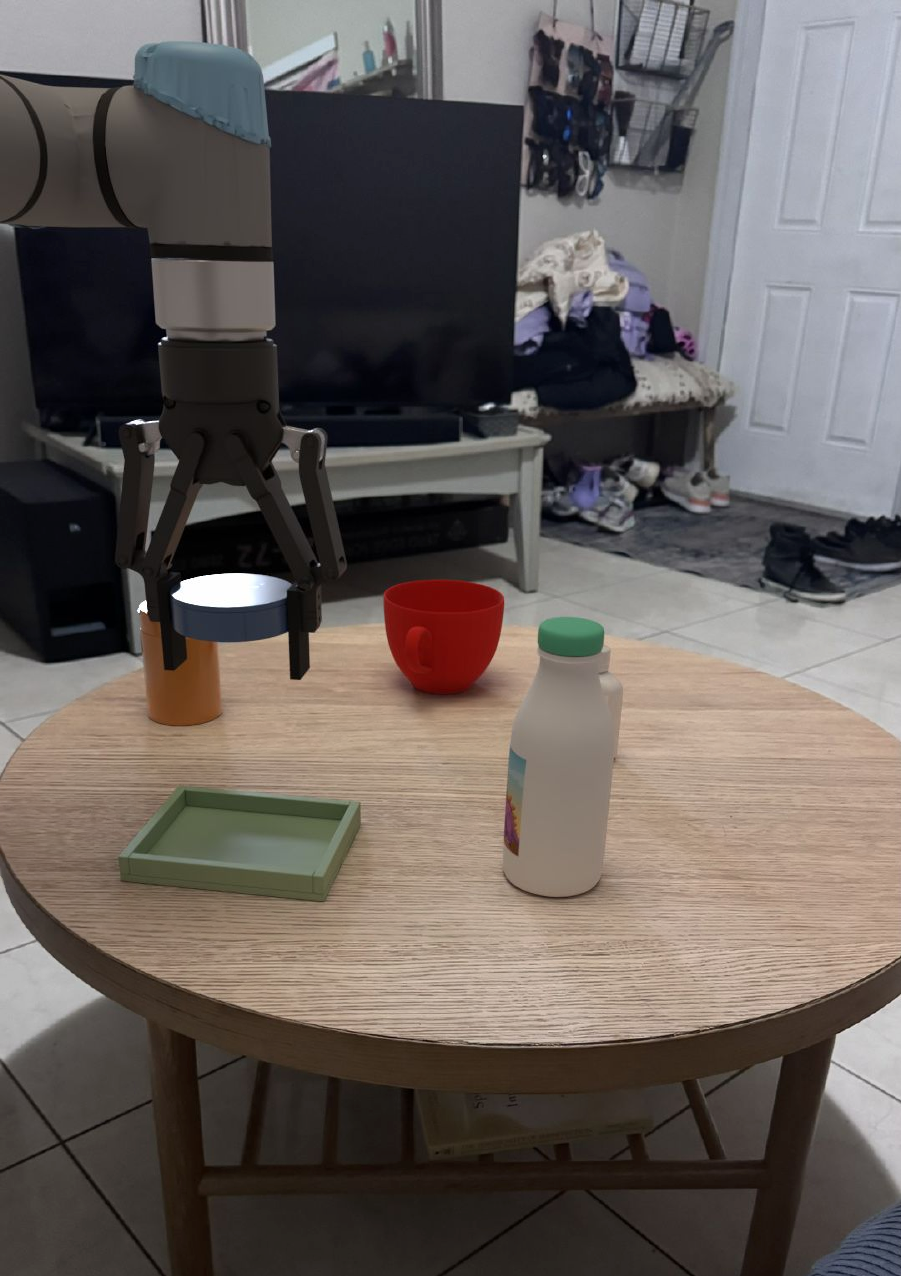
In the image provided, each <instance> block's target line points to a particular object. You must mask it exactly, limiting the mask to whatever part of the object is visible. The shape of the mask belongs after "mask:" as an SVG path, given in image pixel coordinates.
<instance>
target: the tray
mask: <svg viewBox="0 0 901 1276" xmlns="http://www.w3.org/2000/svg"><path fill="white" fill-rule="evenodd" d="M361 804H362V803H361V801H355V800H345V799H334V798H324V797H323V798H322V797H311V796H302V795H291V794H290V795H289V794H280V793H279V794H277V793H270V792H269V793H268V792H259V791H258V792H257V791H245V790H235V789H223V788H213V787H201V786H191V785H180V784H179V785H177V787H176V788H175V789H174V790H173V791H172V793H171V794H170V795H169V796H168V797H167V798H166V799H165V801H164V802H163V803H162V805H160V806H159V808H158V809H157V810H156V811H155V813H154V814H153V815H152V816H151V817H150V818H149V819H148V821H147V822H146V823H145V824H144V825H143V827H142V828H141V829H140V830H139V831H138V832H137V833H136V835H135V836H134V837H133V838H132V839H131V841H130V842H129V843H128V844H127V845H126V846H125V848H124V849H123V850H122V851H121V852H120V854H118V856H117V861H118V869H119V877H120V878H119V880H120V881H121V882H127V883H128V882H129V883H138V884H147V885H148V884H149V885H158V886H168V887H177V888H188V889H196V890H197V889H199V890H205V891H206V890H207V891H216V892H217V891H218V892H227V893H236V894H246V895H247V894H248V895H255V896H266V897H267V896H268V897H276V898H285V899H295V900H305V901H313V902H314V901H315V902H325V900H326V898H327V896H328V894H329V892H330V889H331V888H332V886H333V884H334V881H335V880H336V877H337V875H338V873H339V871H340V868H341V867H342V865H343V862H344V860H345V859H346V857H347V854H348V852H349V850H350V847H351V846H352V844H353V842H354V839H355V837H356V835H357V833H358V831H359V828H360V826H361V823H362V819H361V817H362V813H361V812H362V810H361V807H362V806H361Z"/></svg>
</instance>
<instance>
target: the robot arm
mask: <svg viewBox="0 0 901 1276" xmlns="http://www.w3.org/2000/svg"><path fill="white" fill-rule="evenodd" d="M132 79H133V83H132V85H123V86H122V87H120V86H119V87H118V86H117V87H112V88H111V87H109V88H108V87H107V88H106V87H105V88H104V87H77V86H76V87H75V86H73V87H72V86H53V85H46V84H45V85H44V84H40V83H38V82H37V83H36V82H33V81H29V80H25V79H21V78H16V77H12V76H8V75H5V74H0V225H8V226H10V227H14V228H30V229H32V230H35V229H36V230H37V229H43V228H46V227H52V228H53V227H54V228H127V229H139V230H140V229H147V233H148V240H149V241H148V242H149V248H150V249H149V250H150V251H149V252H150V257H151V273H152V287H153V302H154V303H153V304H154V316H155V324H156V325H157V326H158V327H159V328H161V329H162V330H165V332H166V336H164V337H162V338H160V342H157V348H158V349H157V350H158V359H159V360H158V361H159V373H160V374H159V375H160V386H161V395H162V400H163V408H162V412H161V415H160V417H159V419H158V420H152V421H151V420H150V421H146V420H144V419H141V418H139V419H136V420H133V421H129V422H127V423H124V424H122V425H120V426H119V428H118V438H119V442H120V446H121V451H122V455H123V460H124V461H123V462H124V463H123V472H122V481H121V490H120V491H121V493H120V502H119V511H118V513H119V514H118V521H117V522H118V523H117V531H116V542H115V552H114V562H115V564H116V565H117V567H118V568H119V569H122V570H126V569H128V570H131V571H134V572H135V573H137V574H139V575H140V576H141V578H142V579H143V583H144V593H145V601H146V605H147V615H148V617H149V619H150V621H151V622H160V628H161V639H162V650H163V661H164V670H171V671H175V670H176V669H177V668H178V667H179V666H180V665H181V664H182V663H183V662H184V661H186V660H187V648H186V636H183V635H181V634H179V633H178V632H176V631H175V630H174V628H173V623H172V611H171V600H170V590H171V588H172V587H173V586H175V585H176V584H178V583H180V582H182V577H181V572H175V571H174V572H173V571H170V572H169V573H168V570H169V569H171V568H172V566H173V565H174V564H173V563H172V560H173V558H174V555H175V553H176V551H177V548H178V545H179V543H180V540H181V538H182V535H183V534H184V533H183V532H184V530H185V527H186V525H187V523H188V520H189V517H190V515H191V513H192V511H193V507H194V505H195V503H196V500H197V497H198V494H199V492H200V490H201V489H202V487H203V486H204V485H215V484H219V483H224V484H226V485H229V486H233V487H245V488H246V489H247V491H248V493H249V495H250V497H251V498H252V499H253V500H254V501H255V502H256V504H257V506H258V508H259V509H260V512H261V514H262V516H263V518H264V520H265V522H266V524H267V525H268V528H269V529H270V532H271V534H272V535H273V538H274V540H275V542H276V544H277V546H278V548H279V550H280V552H281V554H282V556H283V558H284V560H285V562H286V564H287V566H288V568H289V570H290V573H291V574H292V577H293V578H294V580H295V581H294V582H293V584H292V586H291V587H290V588H289V589H287V614H288V632H287V635H288V661H289V680H291V681H301V680H302V679H303V678H304V677H305V675H306V674H307V673H308V672H309V670H310V669H311V658H310V656H311V655H310V633H312V634H315V633H316V632H317V630H318V629H319V628H320V627H321V623H322V621H323V615H322V609H323V608H322V586H323V585H324V584H327V583H334V582H337V580H338V579H339V578H340V577H341V576H342V575H343V574H344V573H345V572H346V570H347V568H348V562H347V558H346V553H345V549H344V543H343V540H342V536H341V531H340V527H339V522H338V518H337V512H336V509H335V504H334V499H333V494H332V491H331V486H330V482H329V478H328V472H327V468H326V467H327V466H326V457H327V456H326V455H327V449H328V448H327V447H328V440H329V438H328V433H327V431H325V430H324V428H321V427H315V428H313V429H305V428H300V427H296V426H295V427H294V426H291V425H287V422H286V420H285V419H284V417H283V414H282V412H281V409H280V394H279V393H280V391H279V390H280V389H279V370H278V369H279V368H278V367H279V366H278V365H279V364H278V345H277V344H276V343H274V340H273V339H272V338H268V337H267V333H268V332H267V331H272V330H273V329H274V328H275V327H276V297H275V267H274V266H275V265H274V254H273V253H274V249H273V240H272V239H273V238H272V237H273V236H272V234H273V233H272V200H271V199H272V198H271V197H272V196H271V191H272V190H271V155H270V153H271V152H270V151H271V150H270V148H272V139H271V136H270V135H269V125H268V113H267V102H266V92H265V90H266V89H265V83H264V74H263V70H262V67H261V66H260V64H259V62H258V61H257V60H256V59H255V57H253V55H252V54H250V53H248V52H247V51H244V50H242V49H240V48H237V47H235V46H229V45H224V44H218V43H211V42H203V41H188V40H186V41H184V40H168V41H161V42H160V43H159V42H151V43H146V44H143V45H142V46H140V47H139V48H138V49H137V51H136V52H135V55H134V74H133V76H132ZM162 439H163V441H164V442H165V443H166V445H167V446H168V448H169V449H170V450H171V452H172V453H173V454H174V456H175V457H176V459H177V460H178V463H177V465H176V468H175V471H174V473H173V476H172V478H171V481H170V485H169V487H170V490H169V493H168V495H167V498H166V500H165V502H164V505H163V508H162V510H161V513H160V516H159V517H158V521H157V524H156V527H155V529H154V532H153V535H152V536H151V539H150V542H149V544H148V547H147V549H146V546H147V538H148V537H147V535H148V529H149V527H148V526H149V517H150V509H151V501H152V491H153V483H154V473H155V465H156V464H155V463H156V462H155V461H156V459H155V457H156V455H155V454H156V453H157V452H158V451H159V450H160V448H161V447H160V446H161V440H162ZM283 445H285V446H286V447H287V448H288V449H289V452H290V457H291V459H292V460H293V462H295V463H296V464H298V474H299V476H298V477H299V481H300V485H301V489H302V493H303V497H304V503H305V506H306V511H307V516H308V520H309V524H310V528H311V532H312V536H313V541H314V545H315V550H316V554H317V557H316V555H315V553H314V552H313V549H312V547H311V545H310V543H309V541H308V539H307V537H306V534H305V533H304V531H303V528H302V526H301V525H300V523H299V521H298V519H297V516H296V514H295V512H294V510H293V509H292V506H291V504H290V502H289V499H288V497H287V496H286V493H285V491H284V489H283V487H282V480H281V478H280V476H279V474H278V472H277V469H276V467H275V465H274V464H273V460H274V458H275V456H276V455H277V454H278V452H279V450H280V449H281V448H282V446H283ZM317 558H318V559H317Z"/></svg>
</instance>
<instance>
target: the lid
mask: <svg viewBox="0 0 901 1276" xmlns="http://www.w3.org/2000/svg"><path fill="white" fill-rule="evenodd" d="M292 585H293V584H292V583H291V582H289V581H287V580H285V579H282V578H278V577H275V576H269V575H263V574H255V573H221V574H219V573H218V574H211V575H203V576H197V577H194V578H190V579H186V580H183V581H181V582H180V583H178V584H176V585H175V586H173V587H172V588H171V590H170V600H171V611H172V623H173V628H174V630H175V631H176V632H178V633H179V634H181V635H183V636H186V637H189V638H192V639H197V640H203V641H210V642H218V643H247V642H249V643H250V642H257V641H263V640H269V639H272V638H276V637H279V636H282V635H284V634H286V633H287V634H288V614H287V589H289V588H290V587H291V586H292Z"/></svg>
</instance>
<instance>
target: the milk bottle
mask: <svg viewBox="0 0 901 1276" xmlns="http://www.w3.org/2000/svg"><path fill="white" fill-rule="evenodd" d="M603 644H605V628H604V626H603V625H601V624H600V623H599V622H597V621H595V620H592V619H588V618H584V617H579V616H578V617H577V616H557V617H550V618H547V619H545V620H543V621H541V622H540V623H539V626H538V631H537V649H536V653H537V655H538V656H539V662H538V667H537V670H536V673H535V676H534V678H533V681H532V683H531V685H530V686H529V689H528V691H527V693H526V694H525V696H524V697H523V699H522V701H521V703H520V705H519V707H518V710H517V712H516V715H515V716H514V717H515V718H514V720H513V724H512V729H511V734H510V743H509V750H508V751H509V752H508V764H507V777H506V793H505V806H504V807H505V809H504V826H503V842H502V870H503V872H504V875H505V877H506V878H507V880H508V881H509V882H510V883H512V885H514V886H515V887H517V888H519V889H520V890H522V891H525V892H528V893H530V894H535V895H537V896H544V897H551V898H552V897H555V898H561V897H572V896H578V895H581V894H584V893H586V892H588V891H590V890H592V889H593V888H594V887H595V886H596V885H597V883H598V882H599V881H600V880H601V878H602V873H603V867H604V861H605V850H606V841H607V832H608V821H609V814H610V812H609V811H610V803H611V792H612V791H611V790H612V782H613V770H614V759H615V758H614V728H613V721H612V717H611V713H610V710H609V707H608V705H607V702H606V700H605V697H604V694H603V691H602V687H601V683H600V679H599V673H598V661H599V660H600V659H601V658H602V648H603Z"/></svg>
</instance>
